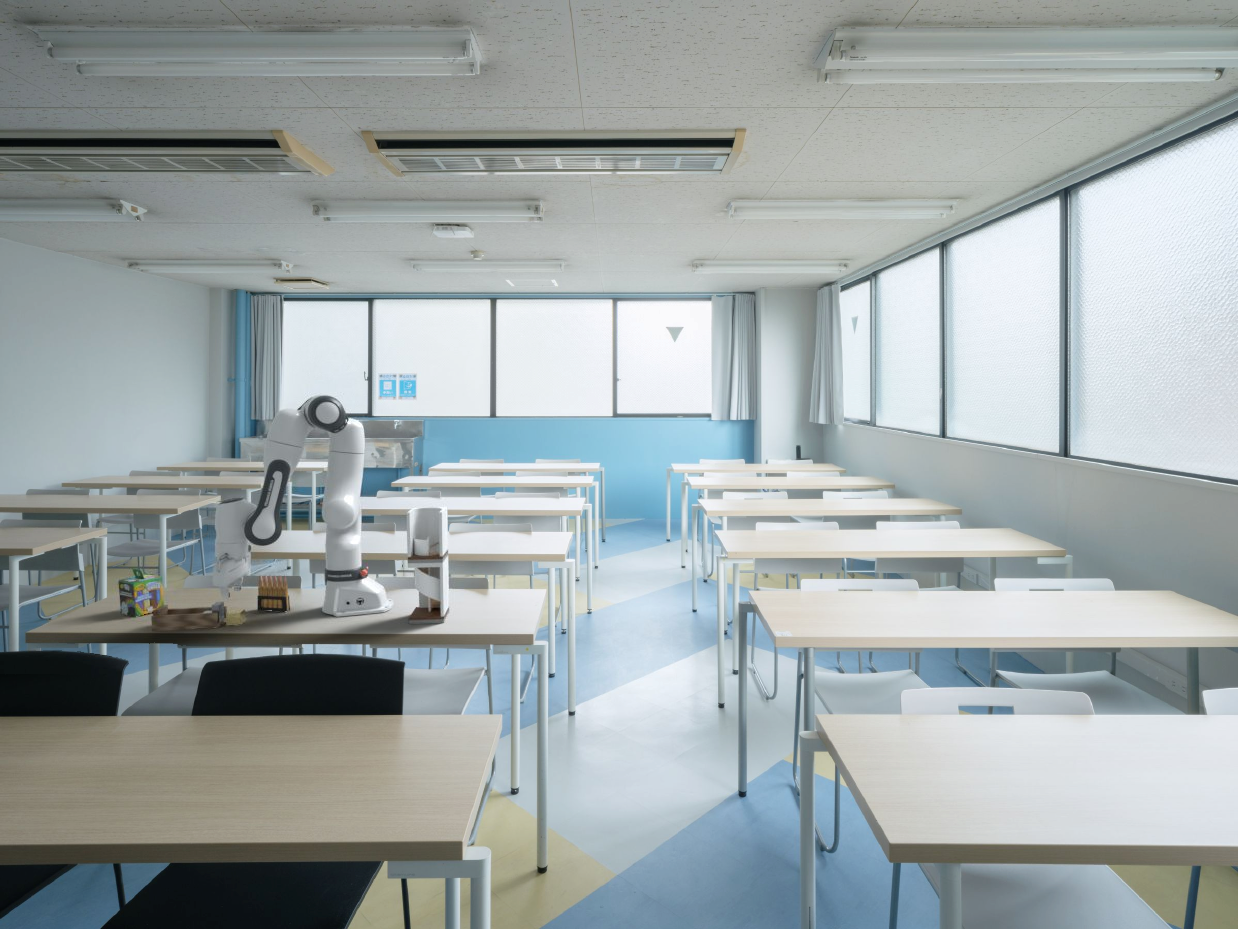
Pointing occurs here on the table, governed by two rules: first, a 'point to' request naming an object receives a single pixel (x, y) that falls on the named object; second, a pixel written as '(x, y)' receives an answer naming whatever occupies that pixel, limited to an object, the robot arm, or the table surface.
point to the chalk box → (140, 594)
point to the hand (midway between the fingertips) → (231, 594)
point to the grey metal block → (218, 610)
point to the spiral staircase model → (429, 562)
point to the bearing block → (184, 618)
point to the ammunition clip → (273, 594)
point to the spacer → (235, 617)
